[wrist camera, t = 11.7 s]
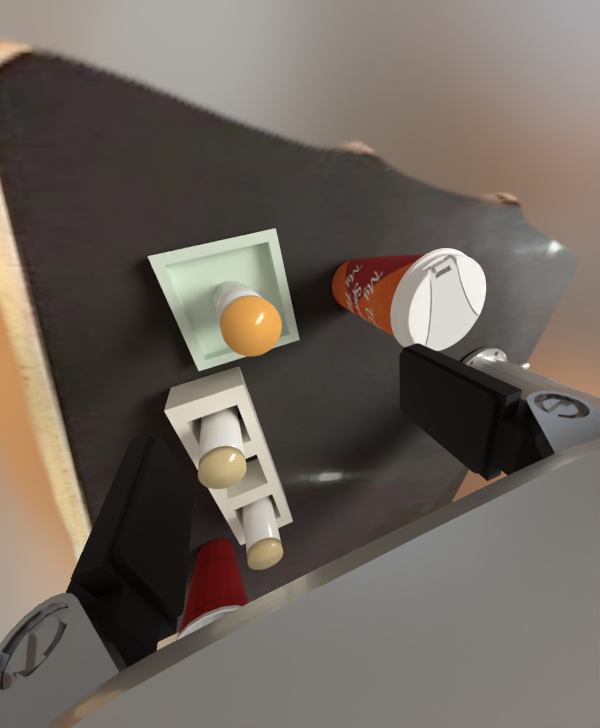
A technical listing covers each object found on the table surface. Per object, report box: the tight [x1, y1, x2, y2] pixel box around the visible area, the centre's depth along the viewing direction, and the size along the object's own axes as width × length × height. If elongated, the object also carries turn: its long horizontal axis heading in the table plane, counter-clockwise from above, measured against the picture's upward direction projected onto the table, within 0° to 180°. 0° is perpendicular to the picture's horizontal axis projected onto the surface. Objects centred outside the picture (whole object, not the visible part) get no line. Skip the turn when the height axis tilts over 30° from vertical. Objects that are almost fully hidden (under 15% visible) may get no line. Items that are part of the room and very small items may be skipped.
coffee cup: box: [332, 248, 486, 351], centre depth 26 cm, size 8×8×15 cm
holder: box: [164, 366, 293, 545], centre depth 35 cm, size 8×26×5 cm, turn 12°
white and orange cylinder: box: [213, 281, 282, 356], centre depth 23 cm, size 4×4×11 cm
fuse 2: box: [242, 495, 283, 570], centre depth 36 cm, size 4×4×11 cm
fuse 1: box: [198, 405, 246, 489], centre depth 29 cm, size 4×4×11 cm
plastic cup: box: [176, 539, 248, 640], centre depth 39 cm, size 11×11×12 cm
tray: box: [148, 228, 299, 371], centre depth 27 cm, size 12×12×2 cm
